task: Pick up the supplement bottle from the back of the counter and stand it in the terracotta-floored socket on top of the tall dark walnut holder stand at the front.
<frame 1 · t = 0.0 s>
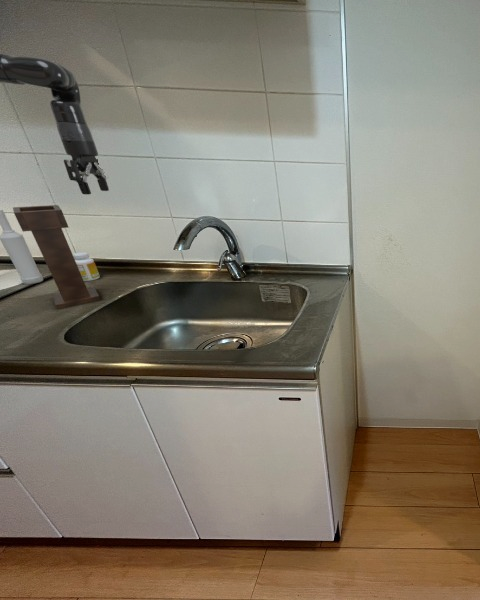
hand: (96, 192, 104), 31 cm above the counter, tool pointing down, fingers open, 8 cm apart
bottle: (33, 281, 110), on the counter
supplement bottle: (90, 279, 115), on the counter
holder: (45, 226, 90), on the counter
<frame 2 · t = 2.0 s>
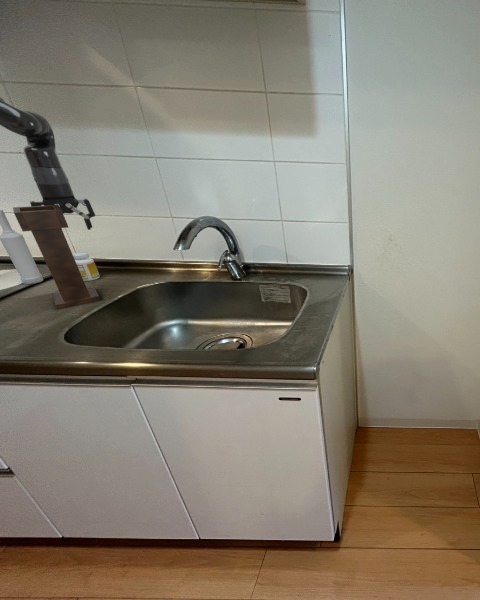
hand: (72, 231, 107), 18 cm above the counter, tool pointing down, fingers open, 8 cm apart
nothing on the counter moved.
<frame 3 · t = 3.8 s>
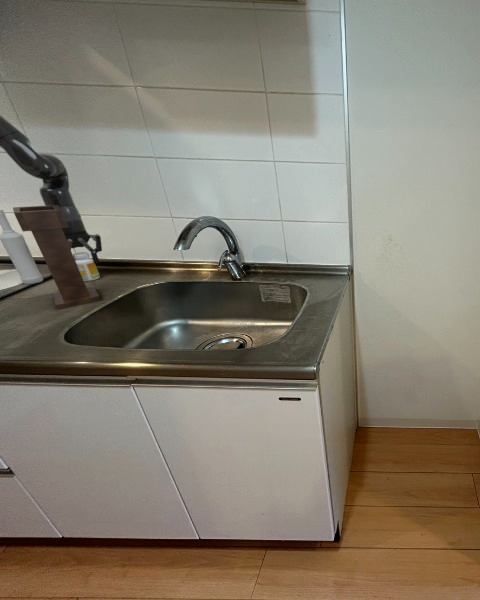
hand: (84, 264, 112), 5 cm above the counter, tool pointing down, fingers closed on supplement bottle, 5 cm apart
supplement bottle: (90, 279, 115), on the counter, touching gripper
everything else where it was.
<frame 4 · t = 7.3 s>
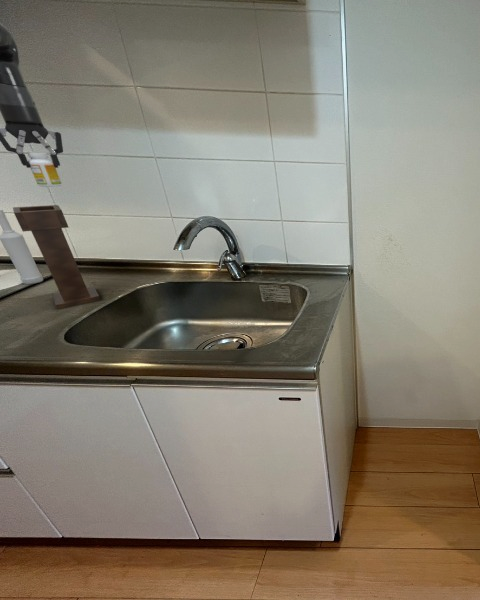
hand: (42, 167, 96), 39 cm above the counter, tool pointing down, fingers closed on supplement bottle, 5 cm apart
supplement bottle: (50, 186, 99), point 33 cm above the counter, touching gripper
everything else where it was.
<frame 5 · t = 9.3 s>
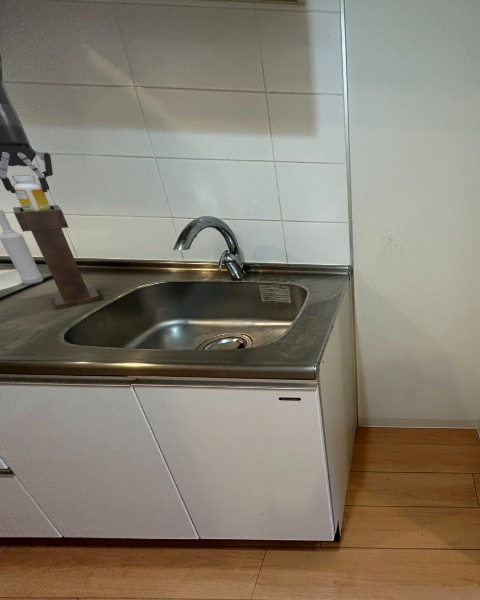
hand: (29, 192, 86), 34 cm above the counter, tool pointing down, fingers closed on supplement bottle, 5 cm apart
supplement bottle: (38, 212, 88), point 28 cm above the counter, touching gripper
everything else where it was.
when the fingers open (30 cm above the counter, at t = 10.8 s): supplement bottle stays where it is, resting on holder.
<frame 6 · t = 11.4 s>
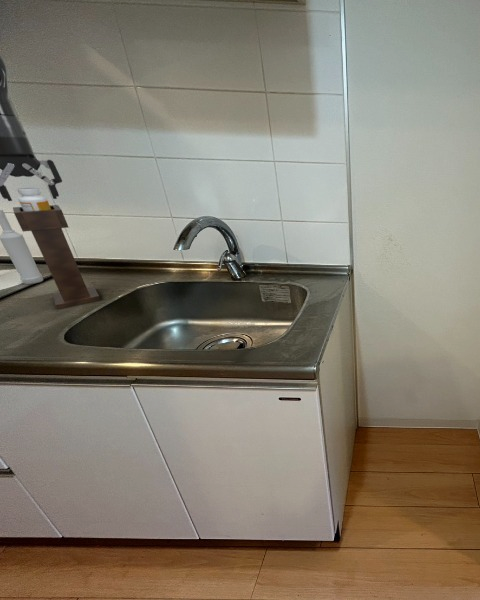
hand: (33, 199, 87), 32 cm above the counter, tool pointing down, fingers open, 8 cm apart
supplement bottle: (44, 224, 90), point 25 cm above the counter, touching holder
everything else where it was.
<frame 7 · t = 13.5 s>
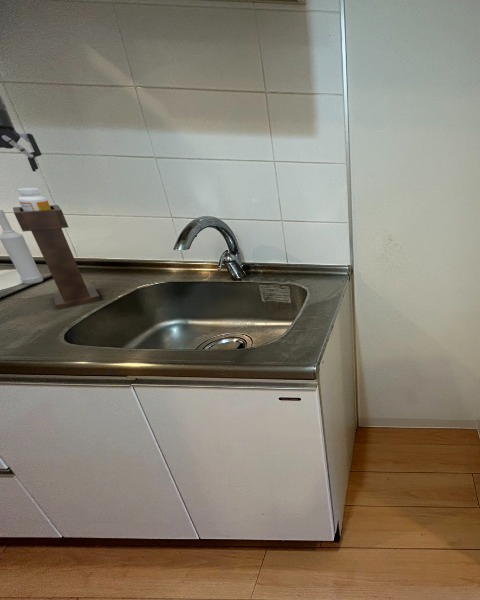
hand: (12, 170, 90), 38 cm above the counter, tool pointing down, fingers open, 8 cm apart
nothing on the counter moved.
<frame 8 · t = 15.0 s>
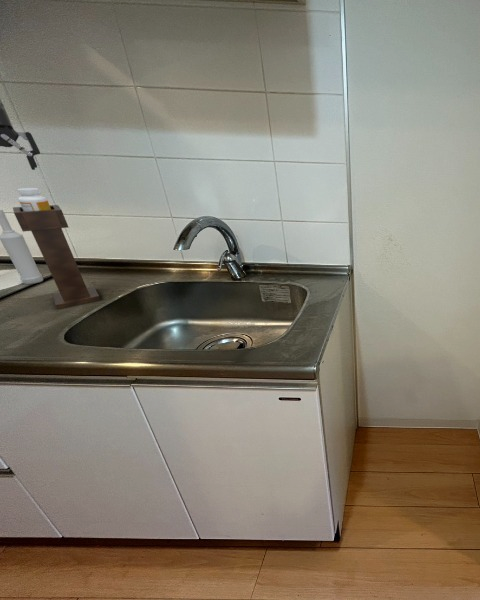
hand: (12, 169, 91), 38 cm above the counter, tool pointing down, fingers open, 8 cm apart
nothing on the counter moved.
at the end: supplement bottle 0.1 cm off-centre on the holder, point 0.6 cm above the holder's base; supplement bottle tilted 0°; the gripper is holding nothing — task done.
